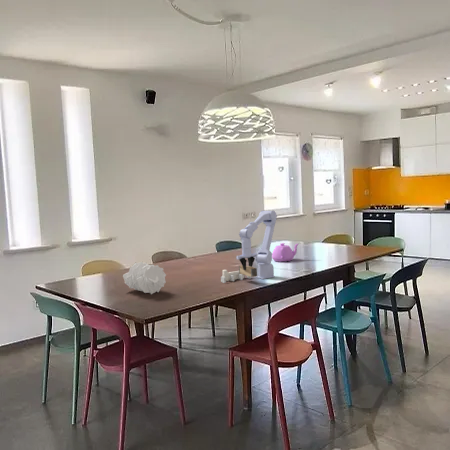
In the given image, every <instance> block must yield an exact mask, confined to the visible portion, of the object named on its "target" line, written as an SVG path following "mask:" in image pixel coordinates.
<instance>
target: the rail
mask: <svg viewBox="0 0 450 450" xmlns="http://www.w3.org/2000/svg"><path fill="white" fill-rule="evenodd" d="M238 271H239V274H243V275H245V276H246V277H247V276H251V278H254V277H255V278H256V277H257V276H258V268H257V267H254V266H252V267H250V266H249V265H246V270H243V266H242V264H241V265H238Z"/></svg>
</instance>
